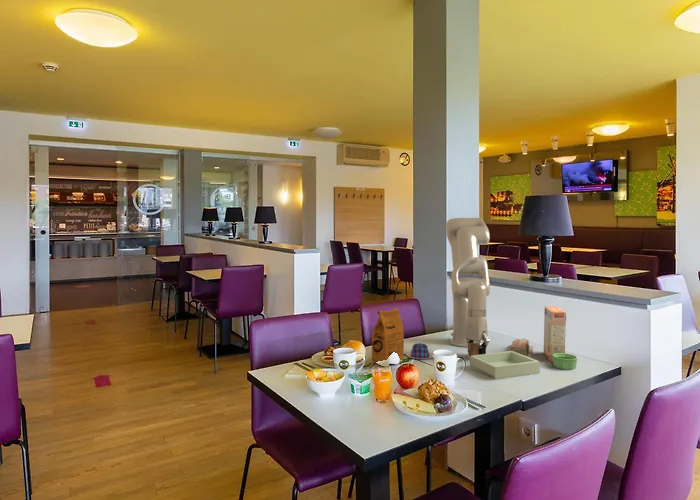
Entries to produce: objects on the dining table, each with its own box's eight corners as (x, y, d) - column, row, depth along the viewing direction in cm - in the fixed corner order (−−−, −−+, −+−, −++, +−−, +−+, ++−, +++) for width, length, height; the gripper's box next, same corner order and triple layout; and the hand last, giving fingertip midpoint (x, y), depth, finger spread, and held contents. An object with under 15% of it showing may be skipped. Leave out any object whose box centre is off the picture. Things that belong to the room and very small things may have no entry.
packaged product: (531, 348, 198) (506, 345, 202) (531, 359, 198) (506, 357, 202) (533, 338, 214) (510, 336, 218) (533, 349, 214) (510, 346, 218)
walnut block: (468, 357, 201) (468, 343, 201) (478, 355, 203) (478, 342, 202) (475, 360, 196) (475, 345, 196) (485, 358, 198) (485, 344, 198)
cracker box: (565, 363, 191) (566, 312, 190) (550, 362, 192) (550, 311, 191) (557, 353, 205) (558, 306, 203) (543, 353, 206) (543, 305, 205)
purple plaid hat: (434, 353, 208) (434, 341, 207) (434, 361, 196) (434, 348, 196) (406, 352, 210) (406, 340, 209) (405, 360, 198) (405, 347, 198)
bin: (470, 366, 187) (470, 355, 186) (511, 361, 193) (511, 350, 193) (495, 379, 172) (495, 367, 171) (539, 373, 178) (539, 361, 178)
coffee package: (368, 362, 193) (367, 309, 192) (390, 357, 201) (390, 306, 200) (384, 368, 186) (384, 313, 184) (407, 362, 193) (407, 309, 192)
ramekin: (582, 368, 185) (582, 357, 184) (567, 371, 180) (568, 360, 180) (561, 362, 192) (562, 351, 192) (547, 365, 188) (547, 355, 188)
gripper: (457, 310, 205) (457, 350, 206) (481, 317, 189) (481, 361, 190) (472, 309, 208) (472, 348, 209) (497, 316, 191) (497, 359, 192)
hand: (476, 354), depth 199 cm, fingers open, 7 cm apart
